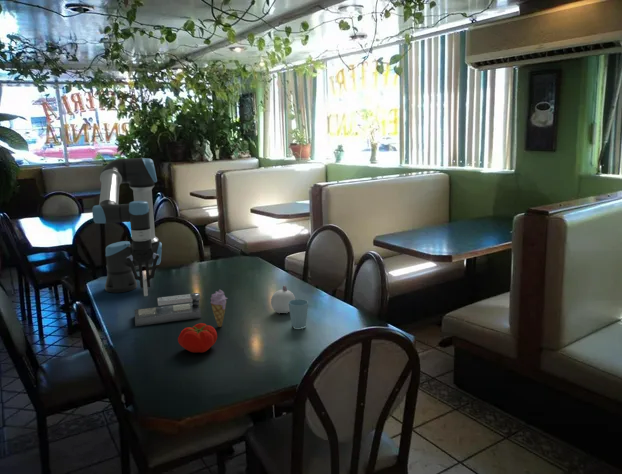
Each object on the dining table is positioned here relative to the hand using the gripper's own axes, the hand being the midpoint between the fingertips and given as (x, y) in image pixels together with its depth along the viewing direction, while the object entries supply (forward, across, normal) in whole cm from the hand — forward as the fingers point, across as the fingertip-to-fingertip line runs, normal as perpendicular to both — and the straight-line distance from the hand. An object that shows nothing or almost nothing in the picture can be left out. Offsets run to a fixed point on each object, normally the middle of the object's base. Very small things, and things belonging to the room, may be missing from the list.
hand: (145, 295), depth 208 cm
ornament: (+11, +55, -14) cm, 58 cm away
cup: (+11, +56, -32) cm, 65 cm away
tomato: (+11, +16, -40) cm, 44 cm away
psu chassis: (+10, +8, -1) cm, 13 cm away
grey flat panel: (+5, +13, +1) cm, 14 cm away
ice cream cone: (+11, +27, -20) cm, 35 cm away
